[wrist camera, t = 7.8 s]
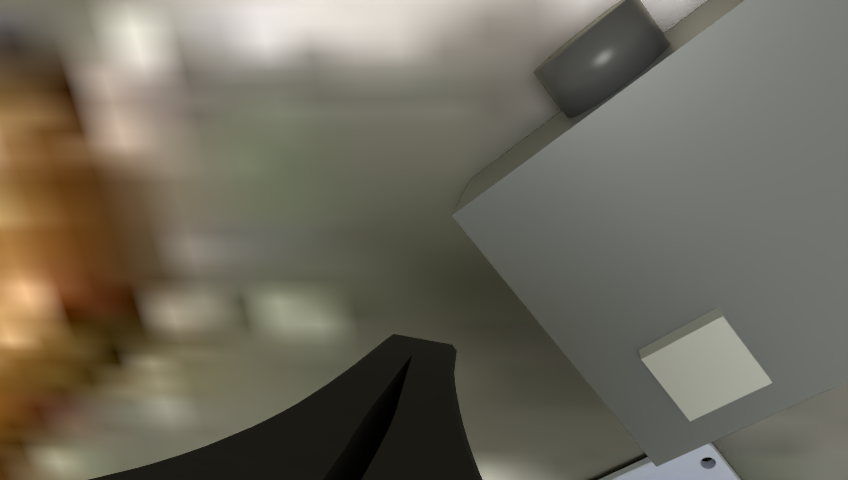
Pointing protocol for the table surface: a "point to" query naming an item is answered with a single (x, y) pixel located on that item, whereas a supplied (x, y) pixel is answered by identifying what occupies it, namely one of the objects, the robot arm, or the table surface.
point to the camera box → (685, 214)
